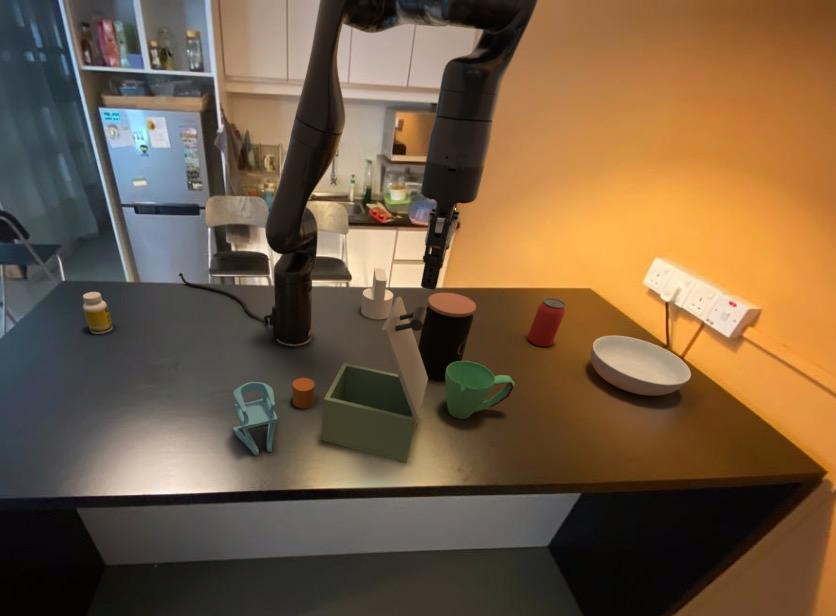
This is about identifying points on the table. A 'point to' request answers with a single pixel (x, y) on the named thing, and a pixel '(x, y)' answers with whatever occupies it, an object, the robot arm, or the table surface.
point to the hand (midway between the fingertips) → (431, 277)
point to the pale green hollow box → (368, 413)
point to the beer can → (546, 322)
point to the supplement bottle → (97, 313)
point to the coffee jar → (445, 332)
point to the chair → (255, 414)
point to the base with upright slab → (377, 297)
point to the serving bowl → (638, 365)
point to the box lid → (407, 352)
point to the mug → (472, 388)
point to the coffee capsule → (303, 393)
